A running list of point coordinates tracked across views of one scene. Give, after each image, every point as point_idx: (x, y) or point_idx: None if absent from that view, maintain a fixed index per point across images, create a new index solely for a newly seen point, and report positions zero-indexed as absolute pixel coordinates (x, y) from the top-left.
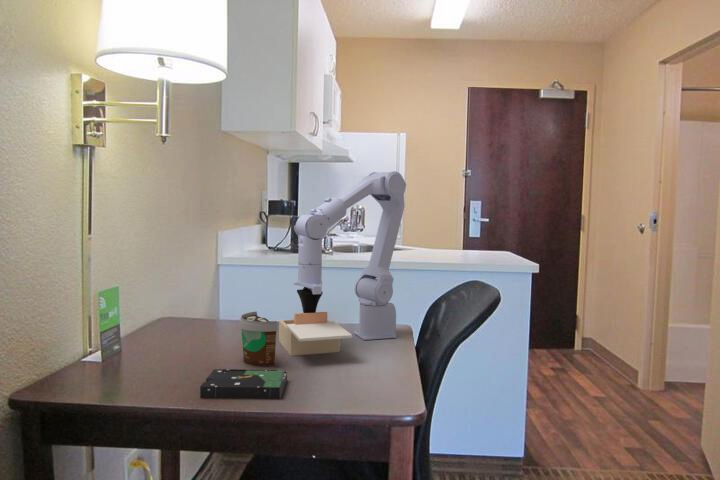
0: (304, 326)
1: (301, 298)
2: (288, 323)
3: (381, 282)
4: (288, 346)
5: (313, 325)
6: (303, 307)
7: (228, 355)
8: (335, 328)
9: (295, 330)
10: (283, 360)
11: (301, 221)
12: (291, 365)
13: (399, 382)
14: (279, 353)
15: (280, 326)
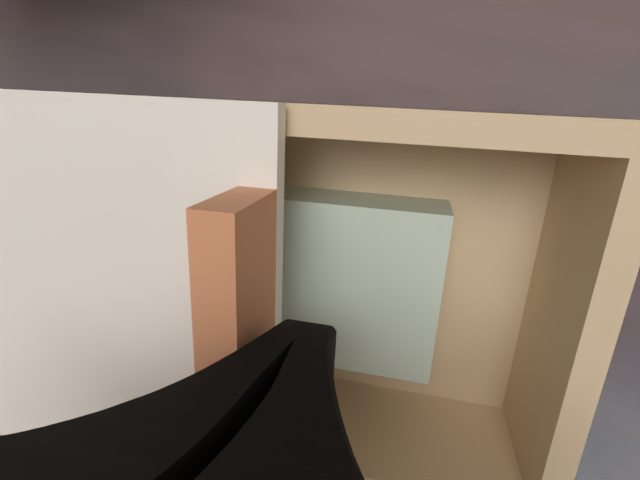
0: (156, 239)
1: (193, 443)
2: (599, 215)
3: None
4: (242, 100)
5: (176, 318)
6: (256, 370)
7: None
8: (70, 410)
9: (35, 119)
10: (122, 31)
11: None
12: (38, 54)
13: None
14: (260, 40)
15: (565, 116)
